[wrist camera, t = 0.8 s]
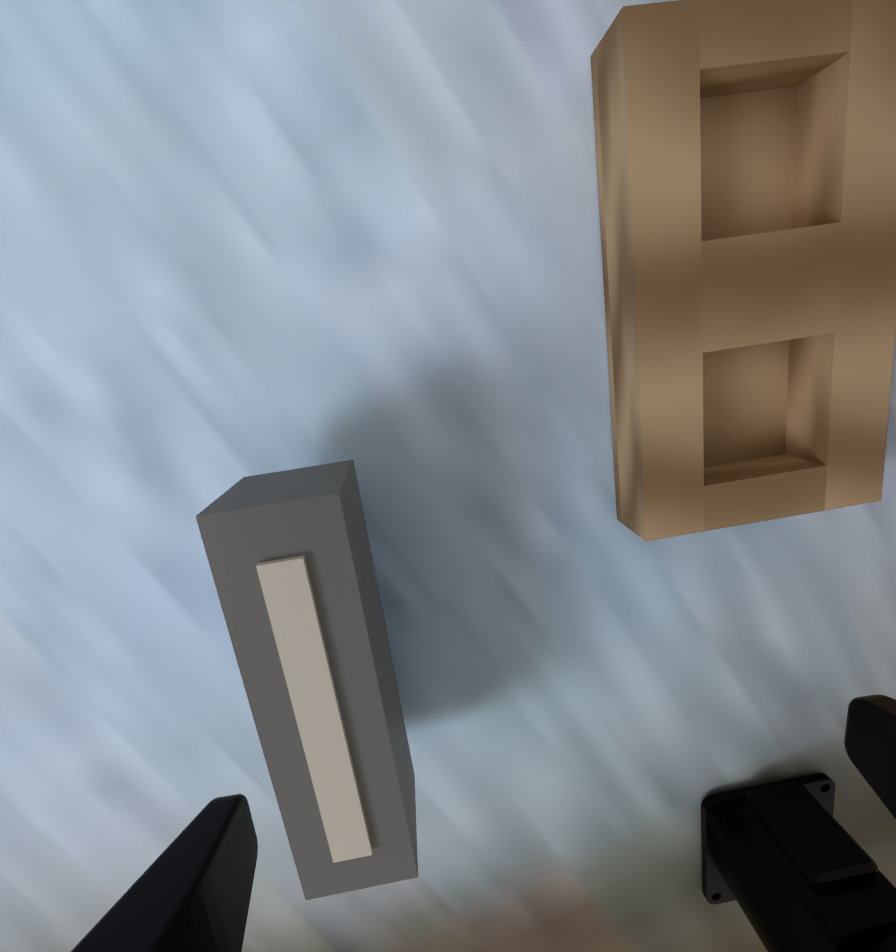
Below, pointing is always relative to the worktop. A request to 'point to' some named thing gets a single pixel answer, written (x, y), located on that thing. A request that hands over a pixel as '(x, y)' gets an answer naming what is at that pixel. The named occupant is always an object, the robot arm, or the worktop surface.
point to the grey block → (317, 671)
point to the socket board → (747, 256)
